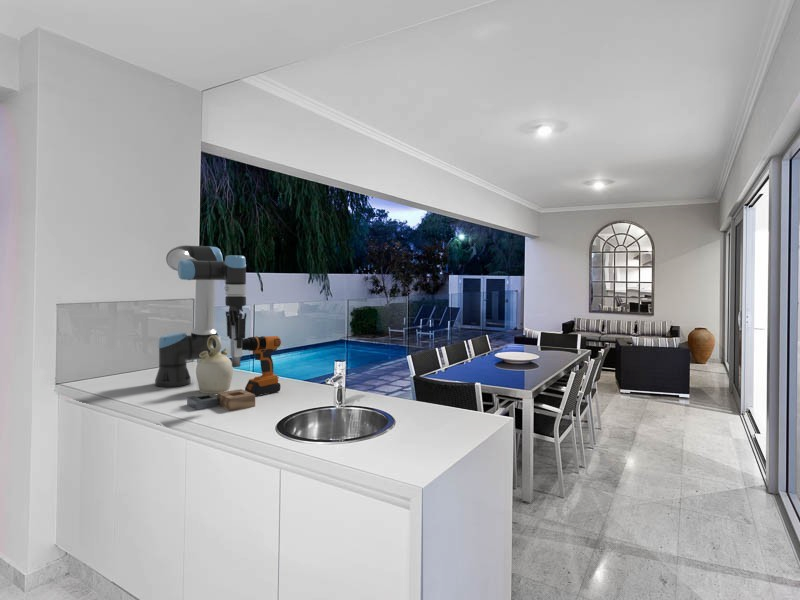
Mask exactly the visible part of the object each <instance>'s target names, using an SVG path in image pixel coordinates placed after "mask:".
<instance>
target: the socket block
mask: <svg viewBox="0 0 800 600" xmlns="http://www.w3.org/2000/svg"><path fill="white" fill-rule="evenodd" d="M186 405H187V406H188V407H190V408H192V409H194V410H196V411H200V410H205V409H210V408H216V407H217V408H218V407H221V406H220V398H219V397H217V393H202V394H198V395H190V396H186Z"/></svg>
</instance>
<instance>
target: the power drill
mask: <svg viewBox="0 0 800 600" xmlns="http://www.w3.org/2000/svg"><path fill="white" fill-rule="evenodd" d="M281 344H282V340H281V338H280V337H279V336H278V335H271V336H267V335H265V336H264V335H263V336H261V335H260V336H257V335H256V336H250V337H245V338H243V340H242V351H250V352H252V354H253V355H255V358H254V360H255V361H259V362H260V369H261V373H262V374H261V375H259V376H255V377H253V378H250V379H249V380H248V381H247V384H246V386H245V387H244V390H245V391H247V392H250V393H252V394H255V397H259V396H263V395H268V394H274V393H276V392H277V393H278V392H280V391H281V389H282V388H281V383H280V382H279V376H278V375H277V374H274V360H273V358H272V353H273V352H276V351H277V350H278V348H280V347H281Z"/></svg>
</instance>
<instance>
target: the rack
mask: <svg viewBox="0 0 800 600" xmlns="http://www.w3.org/2000/svg"><path fill="white" fill-rule="evenodd" d="M216 395H217V397H219V398H220V406H219V407H222V408H224V409H225V410H228V411H229V412H232V411H237V410H242V409H248V408H252V407H256V396H255V394H252V393H250V392H247V391H245V389H241V388H239V389H234V390H228V391H225V392H220V393H216Z"/></svg>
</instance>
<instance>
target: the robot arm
mask: <svg viewBox="0 0 800 600" xmlns="http://www.w3.org/2000/svg"><path fill="white" fill-rule="evenodd" d="M165 258H166V259H165V260H166V263H167V265H168V267H169V268H170V269H171V270H173V271H176V272H177V275H178V279H180V280H182V281H183V280H184V281H185V280H186V281H195V294H194V295H195V296H194V298H195V299H194V300H195V304H194V328H193V329H191V333H190V335H187V332H175V333H169V334H166V335H162V336H161V337H159V339H158V347H157V348H158V370H157V373H156V376H155V379H154V385H155V386H156V387H159V388H174V387H175V388H176V387H181V386H182V387H183V386H186V385H189V384H191V381H192V380H191V378H192V377H191V376H190V372H189V369H188V367H187V365H188V364H187V361H193V360H200V359H201V357H199V355H200V353H201V352H203V351H208V354H209V353H210V352H211V351H210V350H209V348H208V346H207V341H208V338H209V337H210V336H211V335H217V336H218V337H219V338H220V340H221V341H222V338H221V335H220V334H219V333H218V330H217V329H216V328H215V301H216V281H225V286H224V290H225V295H226V296H225V306H226V307H229V308H228V311H225V316H226V317H225V318H226V336H227V337H228V338H229V345H230V346H229V356H231V357H232V325H235V337H236V339H234V351H235V357H240V358H242V357H243V350H242V340H243V339H246V324H247V323H246V320H247V312H244V310H243V307H245V306H246V305H247V297H246V294H247V264H246V263H247V261H246V257H245V256H244V255H226V256H225V258H223V254H222V252H221V249H220V248H218V247H217V246H209V245H206V246H205V245H179V246H176V247H173V248H171V249H170V250H169V251H168V252H167V253H166V257H165ZM212 345H213V348H214V349H216V341H215V339H214V338H213V340H212ZM220 351H221V350H220ZM220 351H219V352H220ZM220 353H221V352H220Z"/></svg>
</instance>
